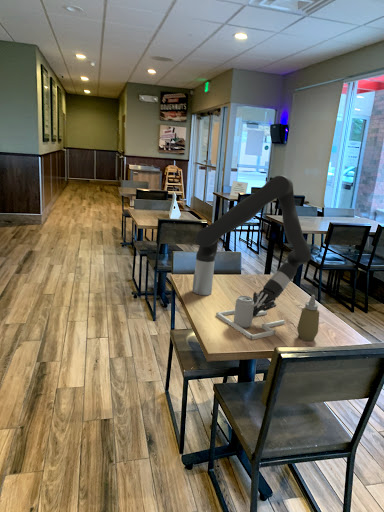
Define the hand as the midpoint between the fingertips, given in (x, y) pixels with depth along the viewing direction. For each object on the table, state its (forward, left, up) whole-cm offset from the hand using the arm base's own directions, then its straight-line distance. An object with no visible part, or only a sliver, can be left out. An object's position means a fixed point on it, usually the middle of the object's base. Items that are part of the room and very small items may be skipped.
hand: (251, 315), depth 162 cm
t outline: (+1, +2, -4) cm, 4 cm away
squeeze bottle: (+23, -4, -4) cm, 23 cm away
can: (-3, -3, -4) cm, 6 cm away
